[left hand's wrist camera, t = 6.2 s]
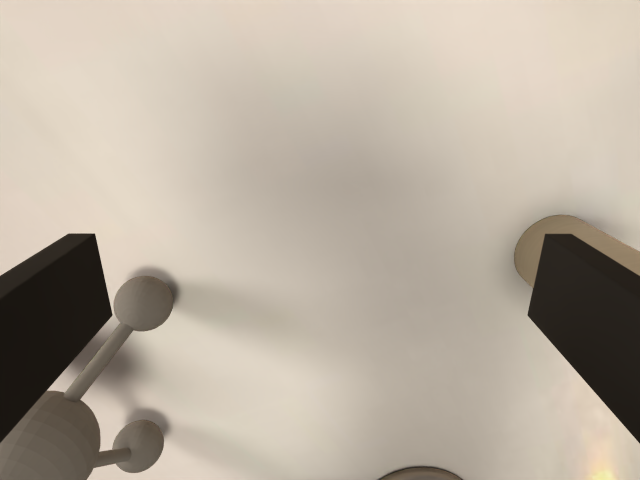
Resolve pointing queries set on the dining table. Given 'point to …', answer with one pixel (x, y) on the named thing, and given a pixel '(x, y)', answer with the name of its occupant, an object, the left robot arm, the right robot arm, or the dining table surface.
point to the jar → (564, 224)
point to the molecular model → (78, 419)
